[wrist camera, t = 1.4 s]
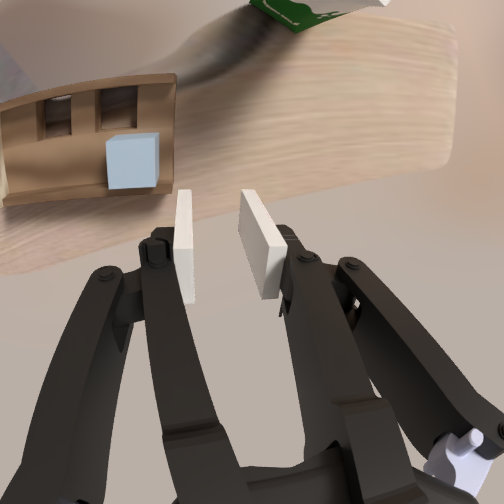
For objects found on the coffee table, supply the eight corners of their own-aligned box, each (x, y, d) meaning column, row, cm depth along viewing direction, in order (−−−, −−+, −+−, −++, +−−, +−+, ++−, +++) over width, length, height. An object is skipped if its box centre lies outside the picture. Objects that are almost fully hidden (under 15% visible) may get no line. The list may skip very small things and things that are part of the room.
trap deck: (5, 104, 22) (-16, 109, 17) (177, 75, 27) (174, 72, 23) (14, 194, 28) (-4, 209, 24) (173, 180, 33) (171, 195, 29)
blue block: (115, 135, 27) (105, 141, 23) (159, 132, 28) (154, 138, 24) (117, 177, 29) (109, 189, 26) (159, 175, 30) (155, 186, 27)
